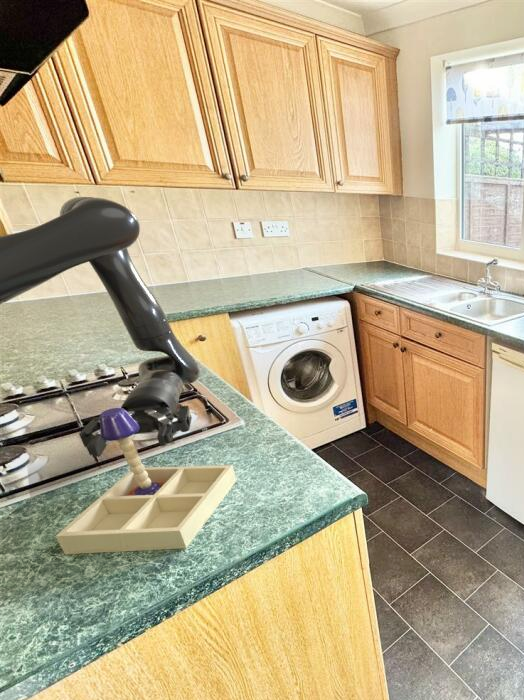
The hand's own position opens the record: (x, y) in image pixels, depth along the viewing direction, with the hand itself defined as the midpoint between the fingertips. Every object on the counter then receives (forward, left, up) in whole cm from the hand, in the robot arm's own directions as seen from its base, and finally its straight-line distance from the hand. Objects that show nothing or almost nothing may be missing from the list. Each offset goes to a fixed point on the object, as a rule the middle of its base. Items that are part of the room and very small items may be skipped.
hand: (128, 446), depth 68 cm
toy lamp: (-1, +1, -10) cm, 11 cm away
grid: (+4, -3, -11) cm, 12 cm away
